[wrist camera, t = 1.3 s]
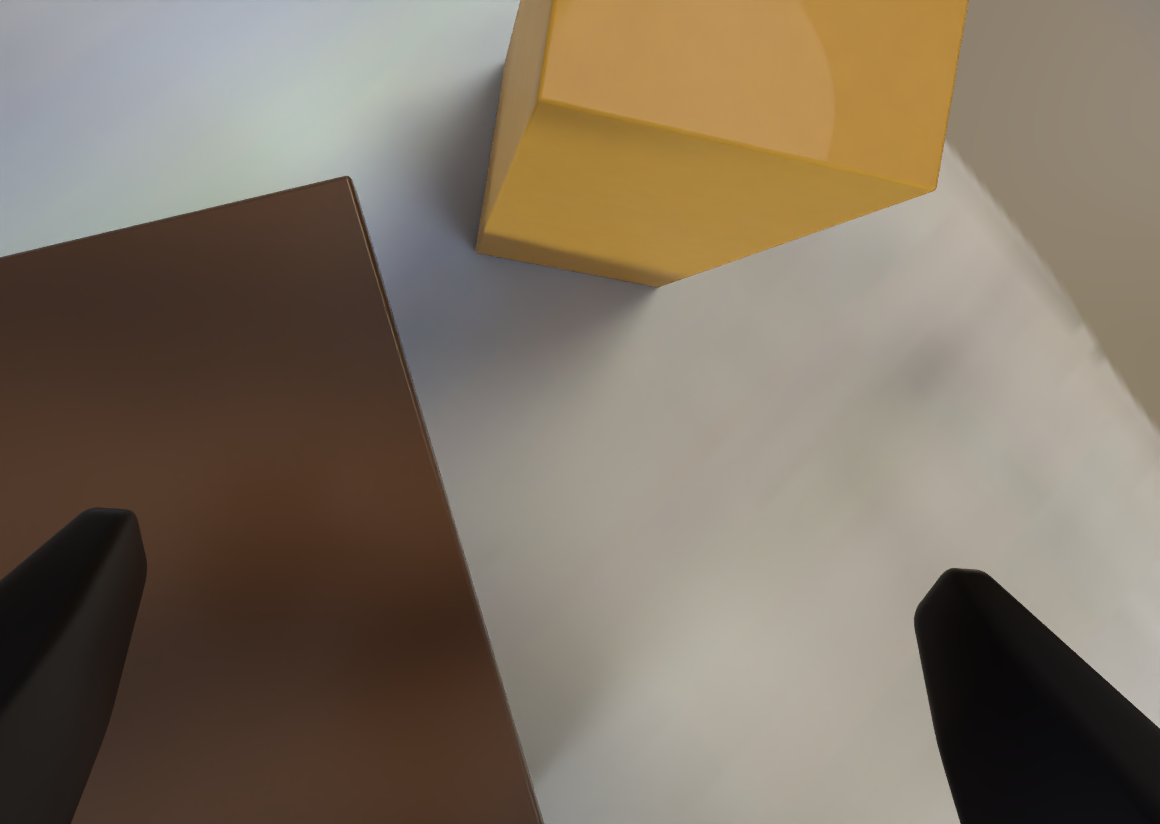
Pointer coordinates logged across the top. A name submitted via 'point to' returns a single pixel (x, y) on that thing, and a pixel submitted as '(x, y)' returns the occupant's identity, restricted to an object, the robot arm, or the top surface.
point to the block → (710, 127)
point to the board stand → (257, 522)
